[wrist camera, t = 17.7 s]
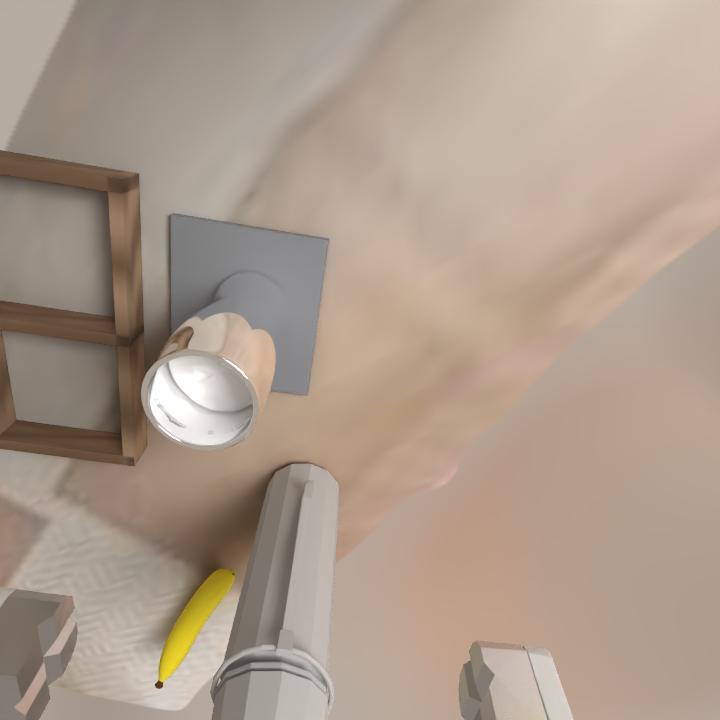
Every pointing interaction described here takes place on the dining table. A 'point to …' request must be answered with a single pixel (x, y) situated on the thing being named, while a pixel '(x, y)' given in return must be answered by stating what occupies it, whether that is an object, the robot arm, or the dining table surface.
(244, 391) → the beer glass
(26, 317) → the frame
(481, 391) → the dining table surface
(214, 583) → the banana
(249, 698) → the water bottle
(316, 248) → the charcoal mat
